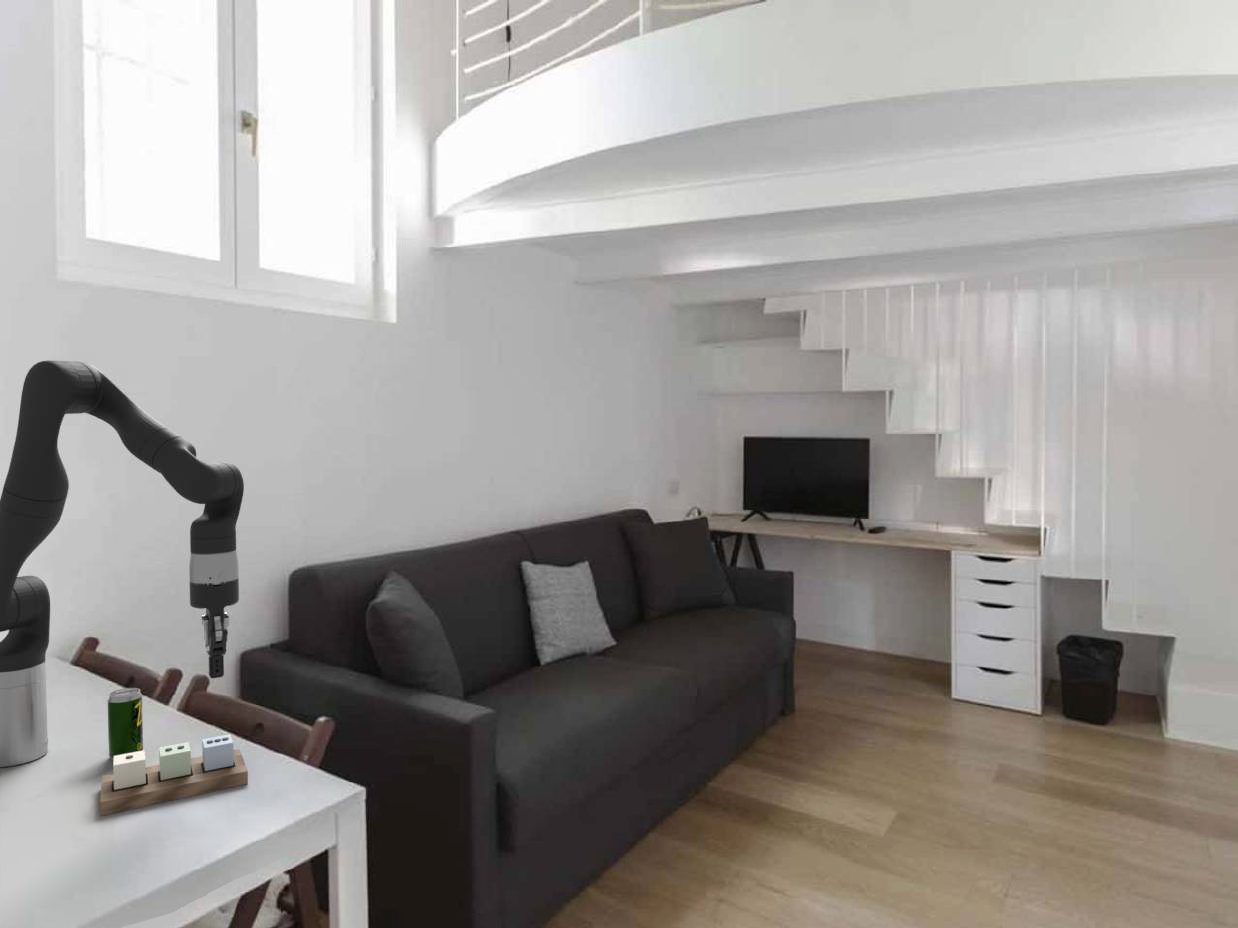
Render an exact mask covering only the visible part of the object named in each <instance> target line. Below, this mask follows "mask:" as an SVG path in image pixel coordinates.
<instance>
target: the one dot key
mask: <svg viewBox="0 0 1238 928" xmlns="http://www.w3.org/2000/svg"><path fill="white" fill-rule="evenodd" d="M145 751H146V750H145V749H143V751H138V752H132V753H127V754H121V755H116V756H114V761H113V763H112V764H113V767H112V768H113V774H114V790H116V789H121V788H126V787H131V786H136V785H140V784H145V783H146V767H147V766H146V764H147V763H146V752H145Z"/></svg>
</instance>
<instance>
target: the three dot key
mask: <svg viewBox="0 0 1238 928" xmlns="http://www.w3.org/2000/svg"><path fill="white" fill-rule="evenodd" d="M201 740H202V746H201V747H202V756H203V765H204V769H205V771H208V770H213V769H218V768H223V767H228V766H233V765H234V755H233V750H234V740H233V738H232V736H231V734H224V735H219V736H213V737H209V738H208V737H207V738H204V739H201Z"/></svg>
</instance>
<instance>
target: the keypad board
mask: <svg viewBox="0 0 1238 928" xmlns="http://www.w3.org/2000/svg"><path fill="white" fill-rule="evenodd" d="M233 755H234V765H233V766H228V767H223V768H218V769H213V770H208V771H205V769H204V765H203V755H202V756H196V757H191V774H189V775H184V776H179V777H174V778H169V779H165V780H161V778H160V764H156V765H151V766H146V783H145V784H140V785H136V786H131V787H126V788H121V789H116V790H114V773H112V774H111V773H110V774H105V775H102V776H101V780H100V781H101V783H100V784H101V785H100V800H99V804H100V805H99V807H100V808H99V810H100V811H99V812H100V817H102V816H103V817H104V816H106V815H111V814H115V813H121V812H125V811H129V810H133V809H134V808H135V809H139V808H143V807H148V806H152V805H157V804H160V803H166V802H171V801H176V800H180V799H183V798H188V797H194V796H198V795H203V794H207V793H212V792H216V791H221V790H224V789H231V788H233V787H239V786H243V785H248V784H249V775H248V774H249V772H248V768H247V766H246V763H245V760H244V756H243V754H242V751H241V749H240V748H236V749H233ZM135 809H134V810H135Z"/></svg>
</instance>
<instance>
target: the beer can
mask: <svg viewBox="0 0 1238 928" xmlns="http://www.w3.org/2000/svg"><path fill="white" fill-rule="evenodd" d="M143 726H144V725H143V694H142V693H141V689H140V688H137V687H126V688H121V689H117V690H114V691H111V692H110V693H109V694H108V698H107V728H108V729H107V731H108V732H107V733H108V734H107V735H108V736H107V737H108V738H107V739H108V756H109V758H110V760H111V761H113V762H114V756H116V755H121V754H127V753H132V752H138V751H143V750H144V732H143V730H144V727H143Z"/></svg>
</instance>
